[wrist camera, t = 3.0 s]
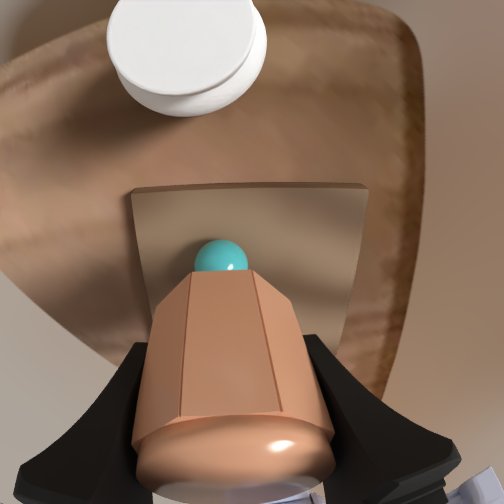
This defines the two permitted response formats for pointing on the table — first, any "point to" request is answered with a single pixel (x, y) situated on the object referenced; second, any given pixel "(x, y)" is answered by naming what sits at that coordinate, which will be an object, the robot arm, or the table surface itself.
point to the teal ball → (220, 257)
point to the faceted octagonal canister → (229, 396)
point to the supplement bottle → (186, 52)
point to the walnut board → (260, 240)
